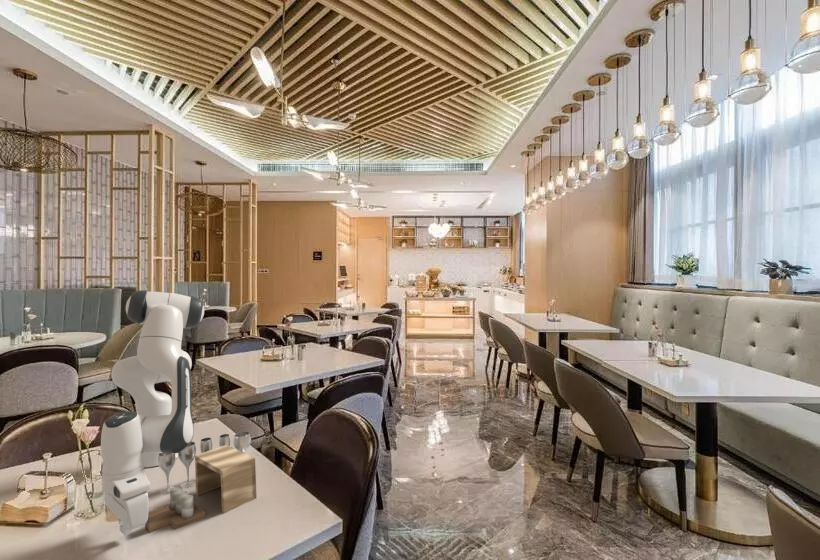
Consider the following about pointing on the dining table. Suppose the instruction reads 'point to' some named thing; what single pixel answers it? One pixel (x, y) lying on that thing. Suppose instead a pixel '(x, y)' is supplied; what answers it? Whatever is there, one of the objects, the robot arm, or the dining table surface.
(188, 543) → the dining table surface
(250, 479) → the wooden stand
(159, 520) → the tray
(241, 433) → the goblet set
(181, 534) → the dining table surface
